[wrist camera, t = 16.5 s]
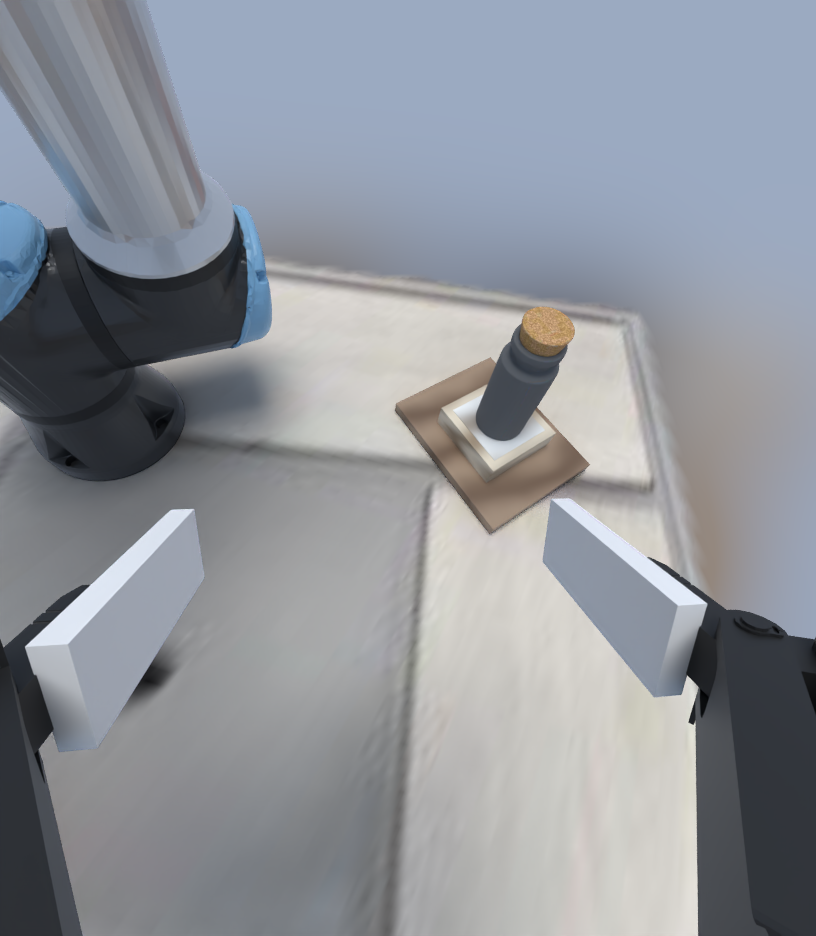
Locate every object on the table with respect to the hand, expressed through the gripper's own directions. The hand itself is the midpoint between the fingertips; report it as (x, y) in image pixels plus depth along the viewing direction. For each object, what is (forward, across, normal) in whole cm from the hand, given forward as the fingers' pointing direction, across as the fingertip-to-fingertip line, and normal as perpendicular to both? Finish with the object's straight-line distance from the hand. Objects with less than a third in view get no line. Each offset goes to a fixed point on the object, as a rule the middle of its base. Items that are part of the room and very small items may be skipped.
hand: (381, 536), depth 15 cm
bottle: (+33, +16, -2) cm, 37 cm away
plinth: (+36, +16, -6) cm, 40 cm away
